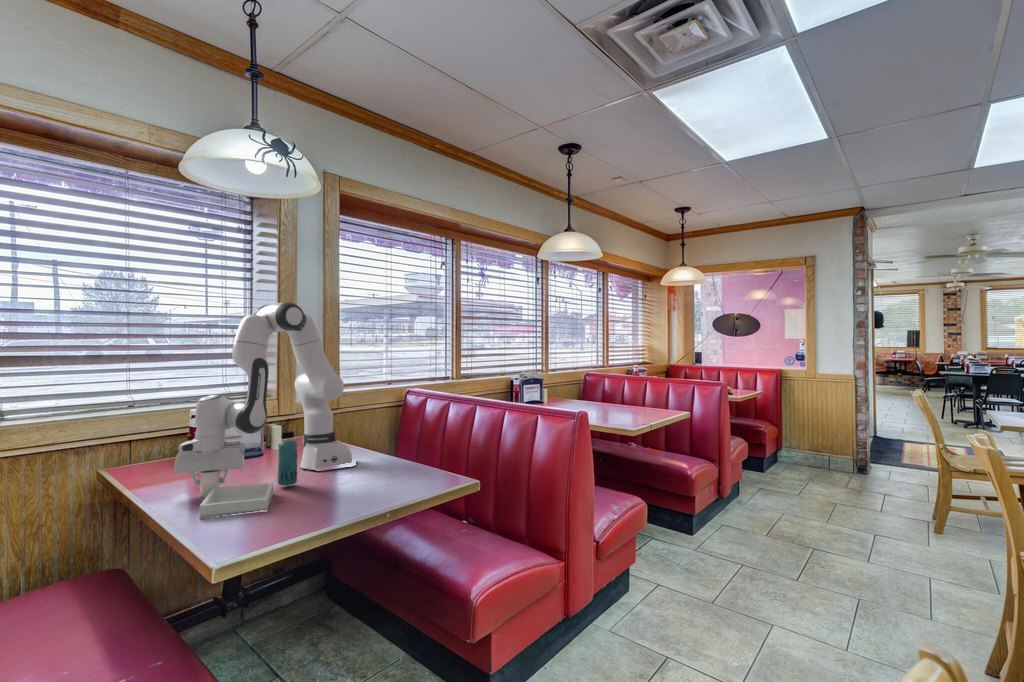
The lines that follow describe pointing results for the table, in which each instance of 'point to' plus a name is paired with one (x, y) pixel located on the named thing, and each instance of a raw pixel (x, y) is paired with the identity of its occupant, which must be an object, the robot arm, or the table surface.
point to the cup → (209, 481)
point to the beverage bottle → (287, 460)
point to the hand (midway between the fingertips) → (210, 483)
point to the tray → (236, 500)
